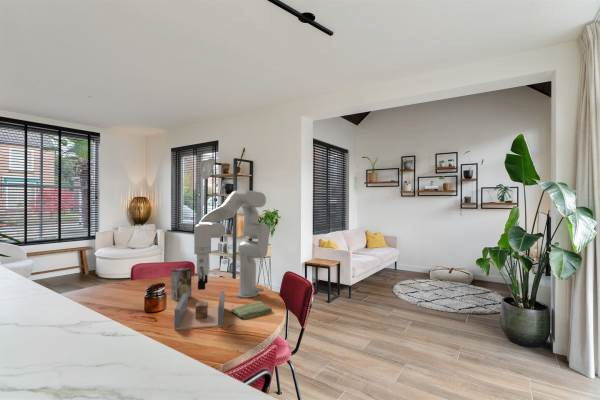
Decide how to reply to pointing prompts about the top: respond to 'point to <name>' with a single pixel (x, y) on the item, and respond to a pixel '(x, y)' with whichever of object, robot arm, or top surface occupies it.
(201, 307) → the walnut block
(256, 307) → the washcloth
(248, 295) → the robot arm
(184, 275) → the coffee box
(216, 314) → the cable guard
